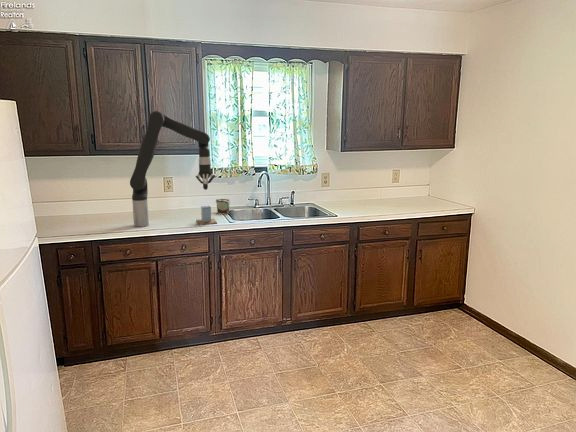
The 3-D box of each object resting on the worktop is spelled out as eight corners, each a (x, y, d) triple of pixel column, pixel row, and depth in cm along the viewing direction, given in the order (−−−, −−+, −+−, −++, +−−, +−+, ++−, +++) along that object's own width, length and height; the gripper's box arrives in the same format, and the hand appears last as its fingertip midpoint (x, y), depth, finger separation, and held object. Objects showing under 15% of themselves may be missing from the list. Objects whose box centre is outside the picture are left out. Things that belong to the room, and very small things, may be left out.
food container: (234, 213, 325) (233, 199, 323) (228, 214, 320) (228, 201, 318) (221, 211, 332) (221, 198, 330) (216, 212, 327) (215, 199, 325)
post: (199, 224, 289) (198, 213, 287) (196, 220, 300) (196, 209, 298) (217, 223, 293) (216, 212, 291) (213, 219, 304) (213, 208, 302)
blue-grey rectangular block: (202, 222, 292) (202, 207, 290) (201, 220, 298) (201, 206, 295) (211, 221, 294) (210, 207, 292) (209, 219, 299) (209, 205, 297)
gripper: (195, 164, 282) (196, 190, 286) (215, 163, 286) (216, 189, 290) (193, 163, 289) (194, 189, 292) (213, 162, 293) (214, 188, 297)
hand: (205, 189), depth 291 cm, fingers closed
